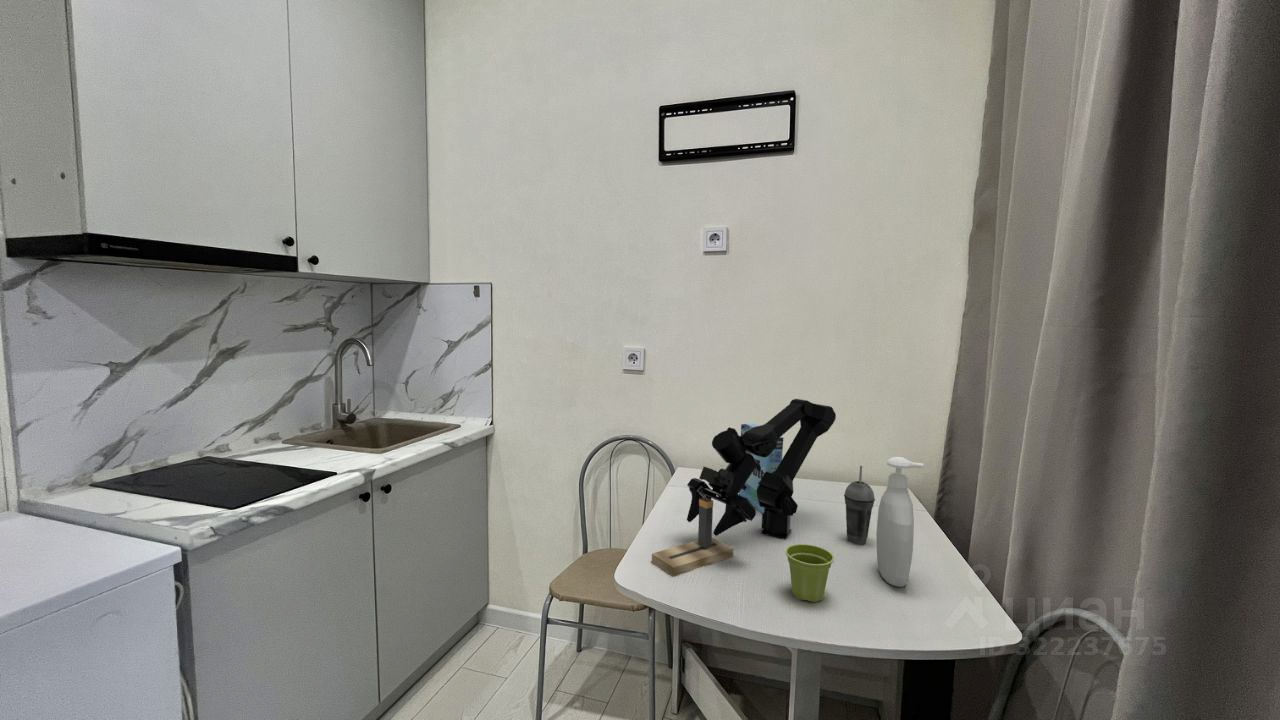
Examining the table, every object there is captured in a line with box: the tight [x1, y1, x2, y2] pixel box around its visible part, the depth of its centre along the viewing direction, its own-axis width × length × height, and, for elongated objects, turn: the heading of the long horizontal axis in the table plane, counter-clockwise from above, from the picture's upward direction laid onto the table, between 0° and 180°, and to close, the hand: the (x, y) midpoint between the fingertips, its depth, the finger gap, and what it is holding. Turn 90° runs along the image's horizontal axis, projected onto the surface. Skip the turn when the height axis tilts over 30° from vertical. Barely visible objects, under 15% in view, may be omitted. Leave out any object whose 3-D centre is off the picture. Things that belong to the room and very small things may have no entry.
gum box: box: [738, 423, 785, 514], centre depth 158 cm, size 20×5×23 cm, turn 13°
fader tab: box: [697, 498, 714, 548], centre depth 122 cm, size 2×3×11 cm
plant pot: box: [784, 543, 835, 603], centre depth 106 cm, size 9×9×9 cm
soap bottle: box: [875, 456, 925, 588], centre depth 113 cm, size 14×8×27 cm, turn 169°
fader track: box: [651, 537, 734, 577], centre depth 120 cm, size 18×8×2 cm, turn 125°
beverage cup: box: [843, 465, 876, 546], centre depth 132 cm, size 7×7×20 cm
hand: (700, 527), depth 121 cm, fingers open, 9 cm apart
